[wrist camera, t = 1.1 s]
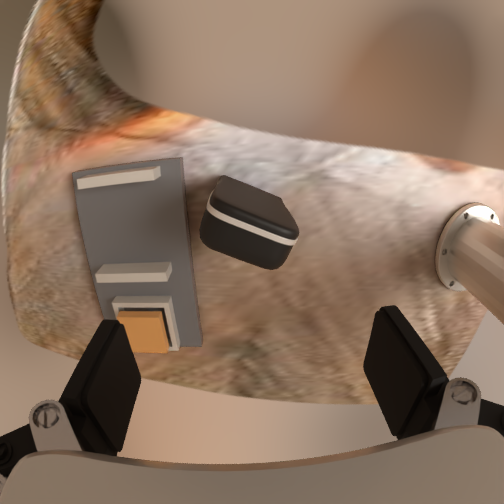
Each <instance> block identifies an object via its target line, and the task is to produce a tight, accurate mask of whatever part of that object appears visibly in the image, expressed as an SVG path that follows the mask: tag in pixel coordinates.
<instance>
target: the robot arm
mask: <svg viewBox="0 0 504 504" xmlns="http://www.w3.org/2000/svg"><path fill="white" fill-rule="evenodd" d="M435 264H436V271H437V275H438V277H439V279H440V281H441V282H442V283H443V284H444V285H445V286H446V287H447V288H449V289H451V290H453V291H465V290H468V291H469V292H470V293H471V294H472V295H473V296H474V297H476V298H477V299H478V300H479V301H480V302H481V303H482V304H483V305H484V306H485V307H486V308H487V309H488V310H489V311H490V312H492V314H493V315H494V316H496V317H497V318H498V319H499V320H500V321H501V322H502V323H503V324H504V227H502V226H500V222H499V219H498V217H497V215H496V213H495V212H494V211H493V210H492V209H491V208H490V207H488V206H486V205H483V204H481V203H472V204H468V205H466V206H464V207H462V208H461V209H460V210H458V211H457V212H456V213H455V214H454V215H453V216H452V217H451V218H450V220H449V221H448V223H447V224H446V226H445V227H444V229H443V231H442V233H441V236H440V239H439V241H438V245H437V249H436V257H435ZM363 367H364V372H365V374H366V376H367V379H368V381H369V383H370V385H371V388H372V390H373V392H374V394H375V397H376V399H377V401H378V403H379V406H380V408H381V410H382V413H383V415H384V417H385V420H386V422H387V424H388V427H389V429H390V431H391V434H392V435H393V436H397V439H398V440H397V441H393V442H389V443H385V444H381V445H377V446H373V447H368V448H365V449H360V450H355V451H350V452H345V453H339V454H334V455H328V456H321V457H314V458H307V459H300V460H291V461H280V462H268V463H252V464H188V463H187V464H186V463H171V462H159V461H149V460H141V459H132V458H124V457H117V452H120V451H121V450H122V448H123V444H124V440H125V437H126V433H127V429H128V425H129V422H130V418H131V415H132V411H133V408H134V404H135V401H136V397H137V394H138V391H139V387H140V384H141V375H140V372H139V369H138V366H137V363H136V361H135V358H134V355H133V352H132V349H131V346H130V343H129V339H128V336H127V333H126V330H125V327H124V325H123V324H120V322H119V321H118V320H109V319H104V320H103V321H102V322H101V324H100V325H99V327H98V329H97V331H96V332H95V334H94V336H93V337H92V339H91V341H90V343H89V345H88V346H87V348H86V350H85V352H84V354H83V355H82V357H81V359H80V361H79V363H78V364H77V366H76V368H75V370H74V372H73V374H72V376H71V378H70V380H69V382H68V384H67V385H66V387H65V389H64V391H63V393H62V395H61V398H60V399H59V401H54V400H45V401H41V402H40V403H38V404H36V405H35V406H34V407H33V408H32V410H31V412H30V415H29V424H27V425H25V426H23V427H21V428H18V429H16V430H14V431H12V432H10V433H8V434H5V435H3V436H1V437H0V504H504V406H502V405H499V404H496V403H493V402H490V401H487V400H484V399H481V392H480V389H479V387H478V386H477V385H476V384H475V383H474V382H473V381H471V380H469V379H467V378H461V377H460V378H455V379H452V380H450V381H449V379H448V378H447V375H446V373H445V372H444V370H443V369H442V367H441V366H440V364H439V363H438V362H437V360H436V359H435V357H434V356H433V354H432V353H431V352H430V350H429V349H428V348H427V346H426V345H425V343H424V342H423V341H422V339H421V338H420V337H419V335H418V334H417V332H416V331H415V330H414V328H413V327H412V326H411V324H410V323H409V322H408V320H407V319H406V318H405V317H404V315H403V314H402V313H401V311H400V310H399V309H398V307H397V306H395V305H392V306H384V307H381V308H380V309H379V311H377V312H376V313H375V318H374V322H373V327H372V331H371V335H370V340H369V344H368V348H367V352H366V356H365V360H364V364H363Z"/></svg>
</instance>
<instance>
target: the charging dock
mask: <svg viewBox="0 0 504 504" xmlns="http://www.w3.org/2000/svg"><path fill="white" fill-rule="evenodd" d="M72 176H73V184H74V191H75V197H76V204H77V209H78V215H79V221H80V226H81V231H82V236H83V241H84V245H85V250H86V254H87V258H88V263H89V267H90V271H91V275H92V278H93V282H94V286H95V289H96V293H97V296H98V300H99V303H100V307H101V310H102V313H103V316H104V319H109V320H117V315H118V313H119V312H120V311H161V312H162V317H163V321H164V326H165V330H166V334H167V339H168V343H169V350H168V351H179V347H202V342H203V336H202V330H201V323H200V316H199V309H198V302H197V295H196V287H195V279H194V271H193V263H192V254H191V245H190V236H189V226H188V216H187V206H186V194H185V182H184V169H183V157H180V158H169V159H159V160H150V161H141V162H133V163H125V164H118V165H111V166H104V167H98V168H92V169H85V170H80V171H76V172H73V173H72Z"/></svg>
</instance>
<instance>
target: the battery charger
mask: <svg viewBox="0 0 504 504" xmlns="http://www.w3.org/2000/svg"><path fill="white" fill-rule="evenodd" d="M298 235H299V228H298V226H297V224H296V222H295V220H294V218H293V217H292V215H291V214H290V212H289V211H288V209H287V208H286V207H285V205H284V203H283V201H282V199H281V198H279V197H277V196H275V195H272V194H270V193H268V192H265V191H263V190H260V189H258V188H255V187H253V186H251V185H248V184H246V183H243V182H241V181H238V180H236V179H233V178H230V177H228V176H225V175H223V176H221V178H220V180H218V182H217V185H216V187H215V188H214V190H213V191H212V193H211V194H210V197H209V199H208V202H207V208H206V210H205V213H204V216H203V218H202V222H201V226H200V238H201V240H202V242H203V243H204V244H205V245H206V246H207V247H209V248H211V249H213V250H215V251H218V252H220V253H223V254H226V255H228V256H231V257H234V258H236V259H239V260H242V261H244V262H247V263H250V264H253V265H255V266H258V267H261V268H264V269H269V270H274V269H278V268H279V267H280V266H282V265H283V263H284V262H285V260H286V259H287V257H288V255H289V253H290V251H291V249H292V247H293V245H295V244H296V242H297V240H298Z"/></svg>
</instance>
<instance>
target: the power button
mask: <svg viewBox="0 0 504 504" xmlns="http://www.w3.org/2000/svg"><path fill="white" fill-rule="evenodd" d="M117 320H118V321H119V322H120V324H123V325H124V327H125V330H126V333H127V336H128V339H129V343H130V346H131V349H132V352H142V353H168V350H169V343H168V339H167V334H166V330H165V326H164V321H163V317H162V312H161V311H120V312H119V313H118V315H117Z"/></svg>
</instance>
